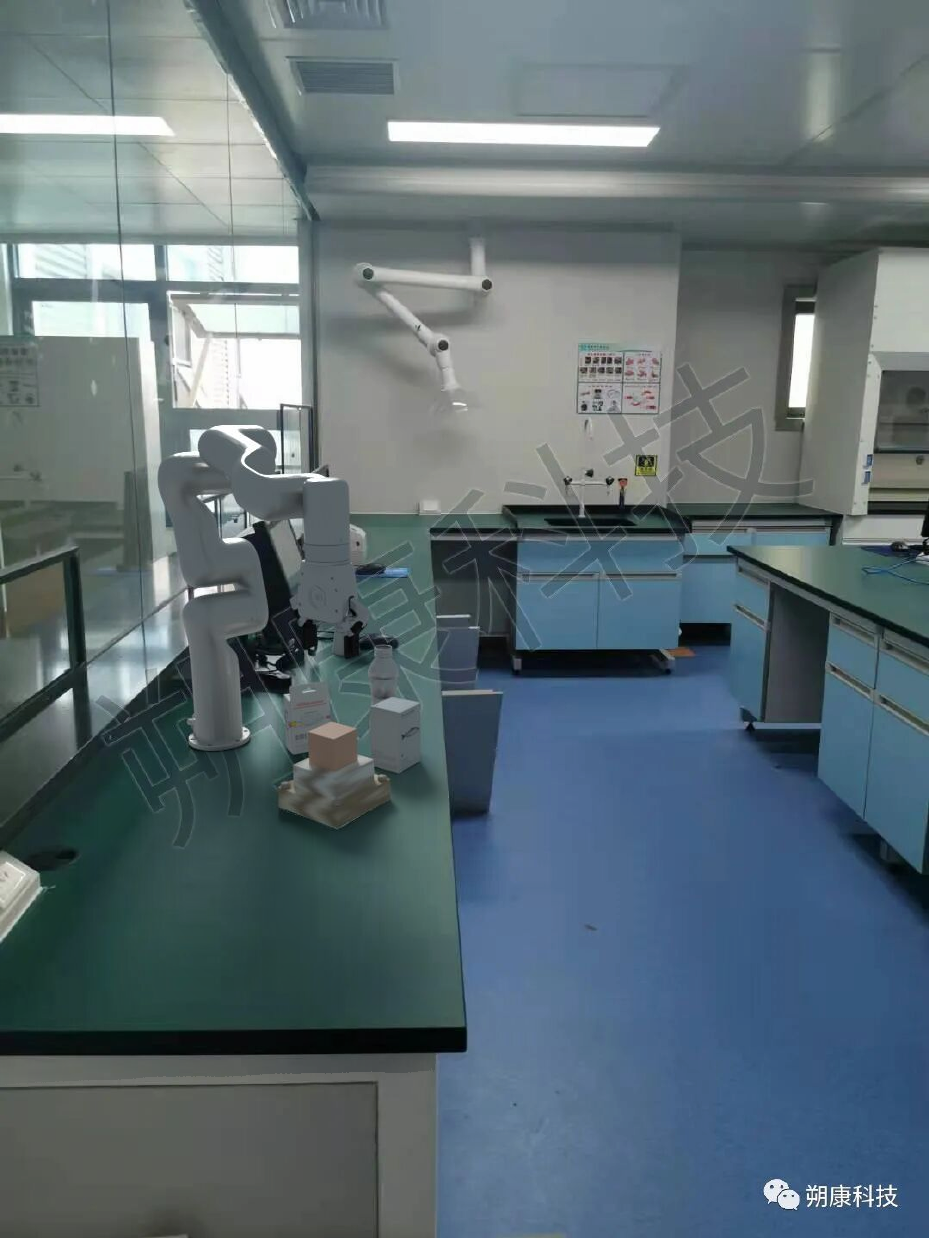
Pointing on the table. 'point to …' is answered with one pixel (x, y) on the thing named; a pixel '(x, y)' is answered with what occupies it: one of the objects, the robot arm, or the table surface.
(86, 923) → the table surface
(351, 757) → the tan cube
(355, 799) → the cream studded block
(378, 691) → the plastic bottle
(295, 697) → the ink cartridge box
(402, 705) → the supplement box
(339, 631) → the coffee maker
